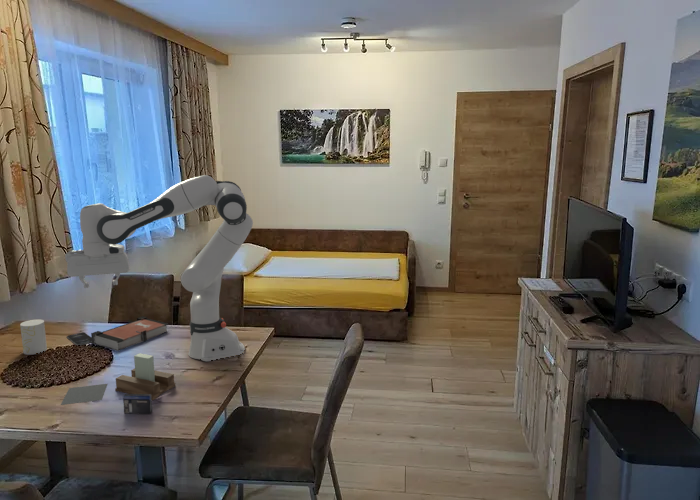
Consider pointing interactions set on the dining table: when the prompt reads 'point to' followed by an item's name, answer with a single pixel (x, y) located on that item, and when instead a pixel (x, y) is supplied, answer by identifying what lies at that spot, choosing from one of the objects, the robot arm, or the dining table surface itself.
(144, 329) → the book
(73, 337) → the smartphone
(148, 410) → the mini dv tape
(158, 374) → the rack
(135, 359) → the tall sage green pillar
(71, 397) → the mat
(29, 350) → the cup
